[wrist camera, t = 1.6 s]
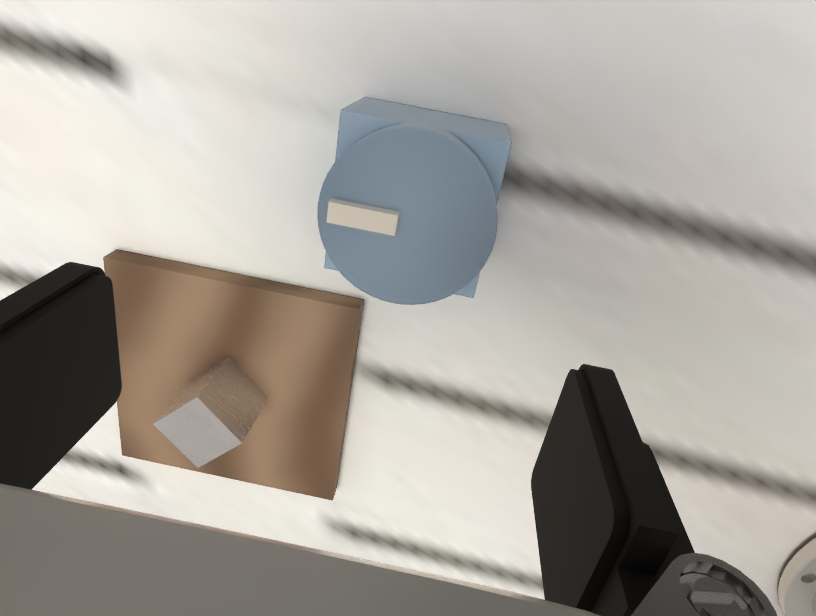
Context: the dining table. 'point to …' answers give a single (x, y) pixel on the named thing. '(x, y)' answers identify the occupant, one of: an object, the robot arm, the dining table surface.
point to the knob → (412, 200)
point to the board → (251, 350)
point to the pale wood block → (212, 412)
